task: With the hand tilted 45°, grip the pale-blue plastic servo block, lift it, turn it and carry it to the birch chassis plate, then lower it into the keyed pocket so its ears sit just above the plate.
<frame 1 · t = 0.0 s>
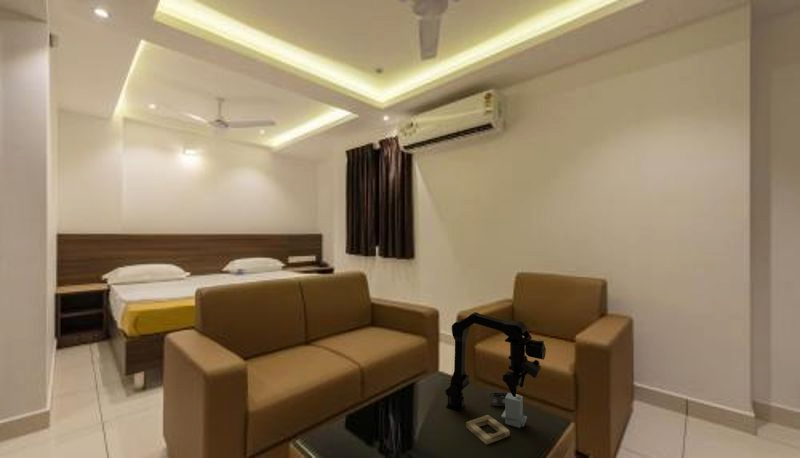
hand: (518, 391, 142), 15 cm above the table, tool pointing down, fingers open, 9 cm apart
mini dv tape: (499, 405, 159), on the table
chassis plate: (487, 431, 140), on the table
servo: (514, 422, 145), on the table
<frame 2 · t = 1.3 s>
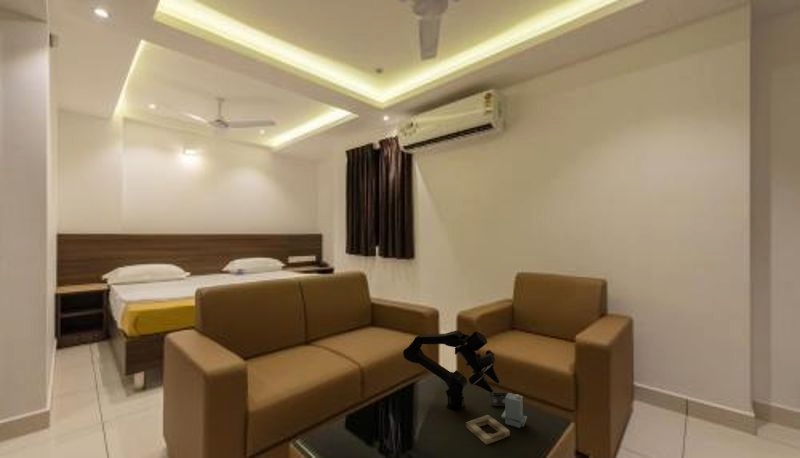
hand: (495, 387, 149), 13 cm above the table, tool tilted 45°, fingers open, 9 cm apart
nothing on the table moved.
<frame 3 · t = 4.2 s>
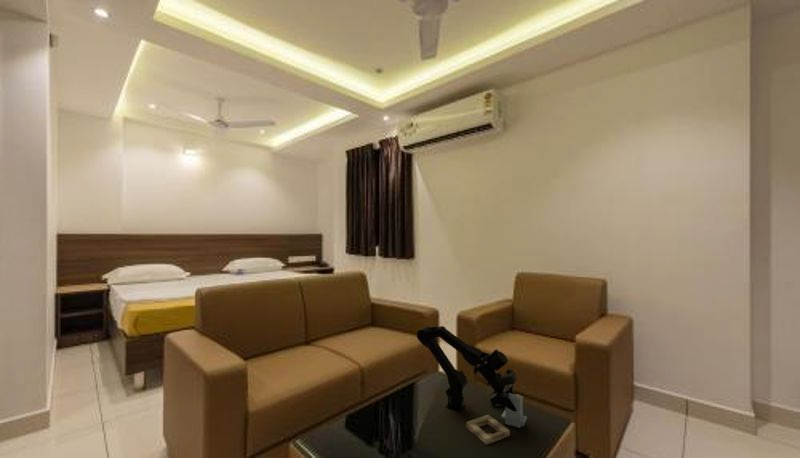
hand: (517, 408, 144), 7 cm above the table, tool tilted 45°, fingers closed on servo, 5 cm apart
servo: (514, 422, 145), on the table, touching gripper
everything else where it was.
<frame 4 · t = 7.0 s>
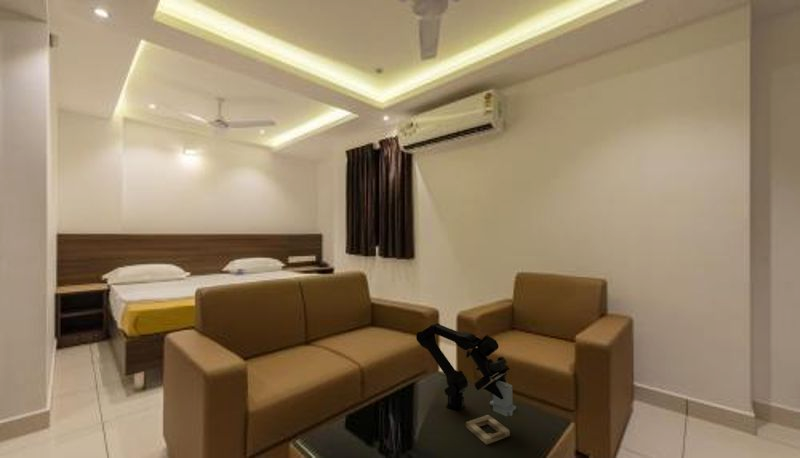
hand: (505, 396, 140), 13 cm above the table, tool tilted 45°, fingers closed on servo, 5 cm apart
servo: (502, 411, 142), point 7 cm above the table, touching gripper
everything else where it was.
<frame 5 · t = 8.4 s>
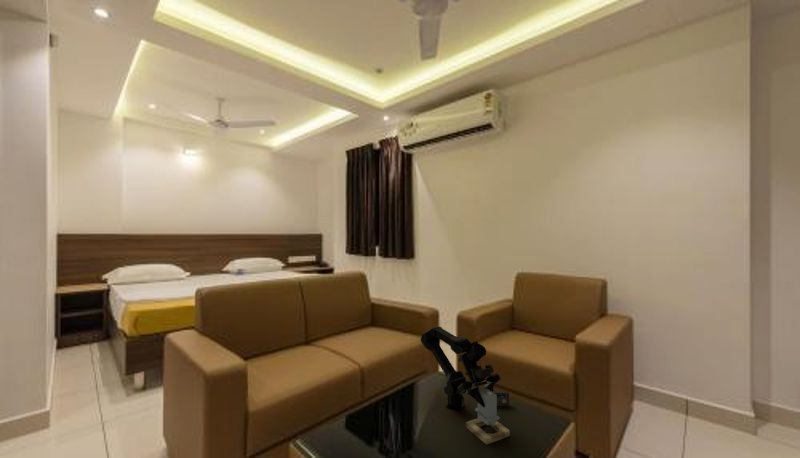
hand: (489, 405, 138), 11 cm above the table, tool tilted 45°, fingers closed on servo, 5 cm apart
servo: (487, 419, 140), point 5 cm above the table, touching gripper
everything else where it was.
when the fingers open (8 cm above the table, at t = 9.6 s): servo drops 1 cm, resting in chassis plate.
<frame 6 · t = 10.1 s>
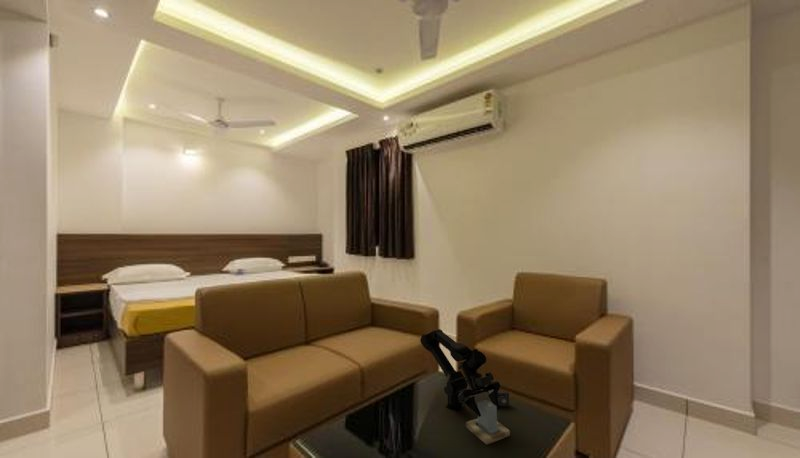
hand: (489, 413, 138), 8 cm above the table, tool tilted 45°, fingers open, 9 cm apart
servo: (487, 431, 140), resting in chassis plate
everything else where it was.
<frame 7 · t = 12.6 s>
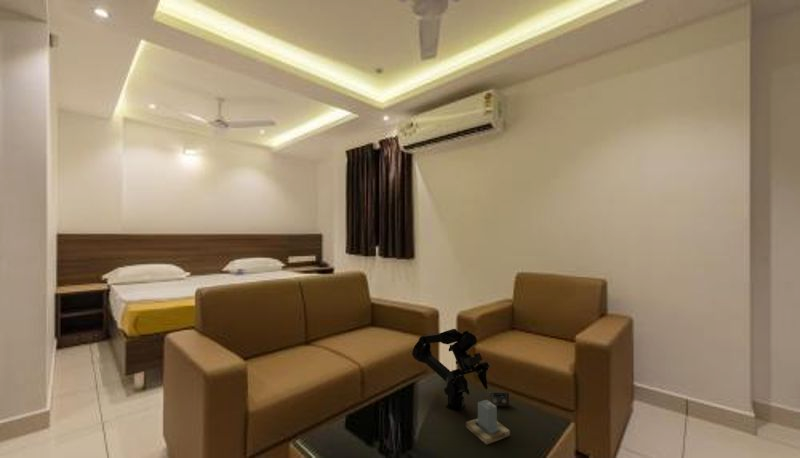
hand: (478, 391, 145), 14 cm above the table, tool tilted 45°, fingers open, 9 cm apart
nothing on the table moved.
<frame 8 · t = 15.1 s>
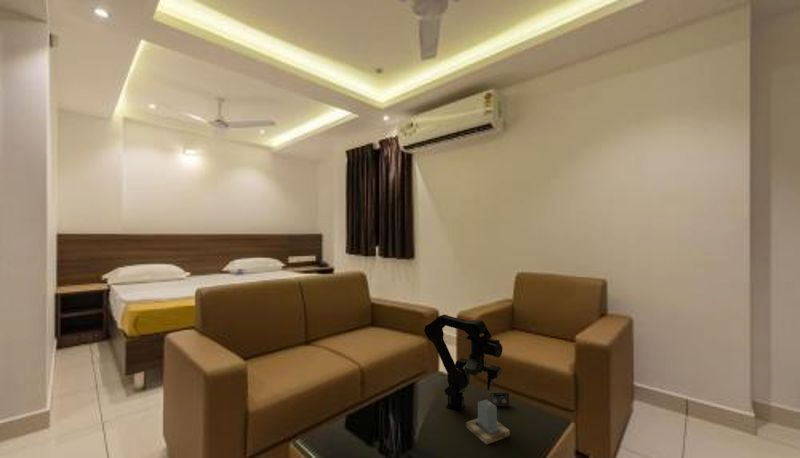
hand: (478, 387, 150), 13 cm above the table, tool pointing down, fingers open, 9 cm apart
nothing on the table moved.
at the end: servo 0.0 cm off-centre on the chassis plate, point 0.0 cm above the chassis plate's base; servo tilted 0°; the gripper is holding nothing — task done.
